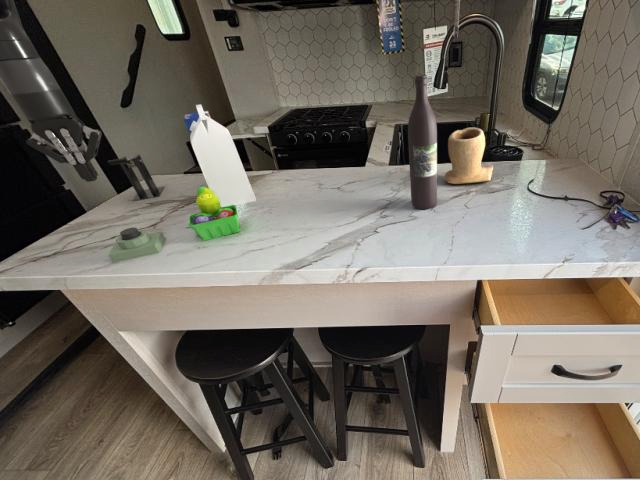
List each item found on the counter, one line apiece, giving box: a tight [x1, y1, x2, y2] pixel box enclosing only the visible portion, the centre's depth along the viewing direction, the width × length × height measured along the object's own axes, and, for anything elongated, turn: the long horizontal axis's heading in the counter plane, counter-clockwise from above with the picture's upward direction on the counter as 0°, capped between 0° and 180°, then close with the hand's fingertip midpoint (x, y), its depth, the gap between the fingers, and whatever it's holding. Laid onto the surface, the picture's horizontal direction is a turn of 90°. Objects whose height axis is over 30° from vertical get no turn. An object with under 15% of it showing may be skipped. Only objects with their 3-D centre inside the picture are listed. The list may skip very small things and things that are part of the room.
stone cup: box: [444, 127, 494, 185], centre depth 100 cm, size 15×12×15 cm
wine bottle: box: [407, 74, 438, 210], centre depth 84 cm, size 7×7×30 cm
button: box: [119, 227, 141, 240], centre depth 81 cm, size 4×4×2 cm
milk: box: [189, 104, 258, 207], centre depth 99 cm, size 12×12×26 cm
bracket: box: [119, 154, 165, 202], centre depth 110 cm, size 10×8×13 cm
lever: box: [107, 157, 137, 169], centre depth 103 cm, size 12×4×2 cm, turn 19°
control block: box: [107, 229, 166, 263], centre depth 83 cm, size 10×8×4 cm
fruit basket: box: [188, 185, 241, 242], centre depth 85 cm, size 11×9×11 cm
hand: (92, 180), depth 74 cm, fingers closed
